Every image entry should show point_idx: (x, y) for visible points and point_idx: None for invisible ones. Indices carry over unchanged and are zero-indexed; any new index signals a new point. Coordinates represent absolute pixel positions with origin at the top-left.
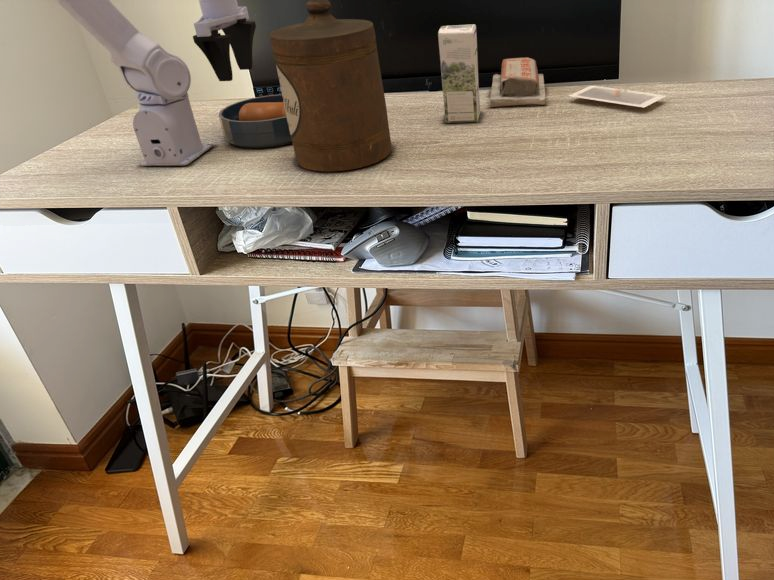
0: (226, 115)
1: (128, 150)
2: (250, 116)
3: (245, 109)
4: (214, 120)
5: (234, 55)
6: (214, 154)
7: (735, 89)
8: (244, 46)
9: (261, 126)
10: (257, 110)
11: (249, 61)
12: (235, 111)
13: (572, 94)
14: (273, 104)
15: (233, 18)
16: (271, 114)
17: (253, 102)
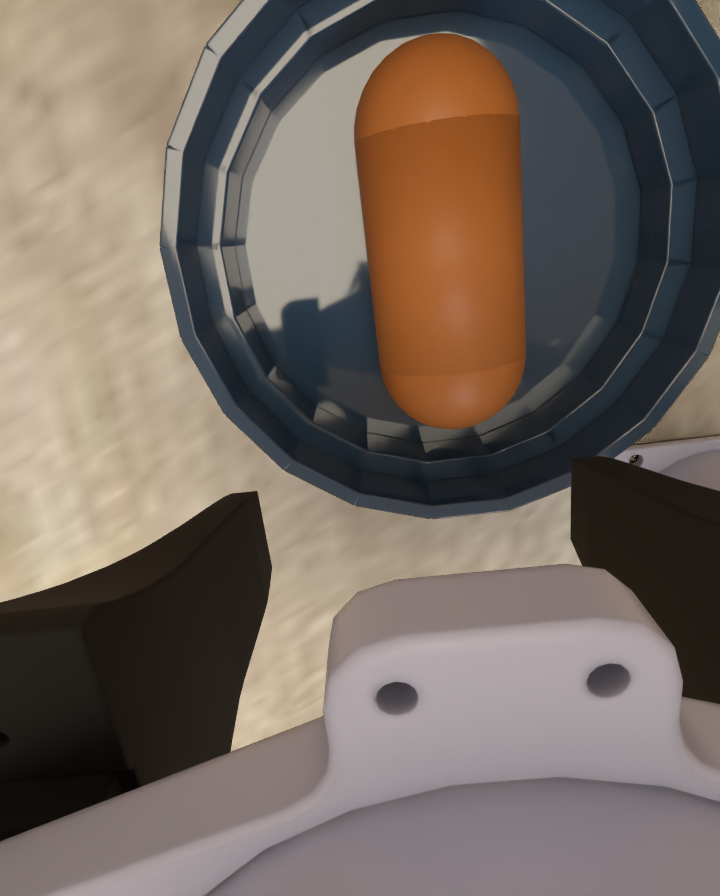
0: (484, 485)
1: None
2: (524, 329)
3: (512, 369)
4: (271, 635)
5: (253, 647)
6: (709, 388)
7: None
8: (210, 597)
9: None
10: (514, 291)
11: (242, 513)
12: (399, 485)
13: None
14: (477, 195)
15: (706, 730)
16: (520, 194)
17: (291, 446)
